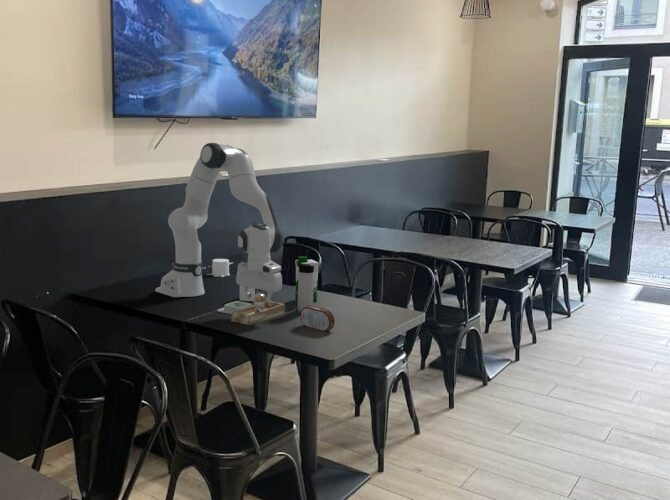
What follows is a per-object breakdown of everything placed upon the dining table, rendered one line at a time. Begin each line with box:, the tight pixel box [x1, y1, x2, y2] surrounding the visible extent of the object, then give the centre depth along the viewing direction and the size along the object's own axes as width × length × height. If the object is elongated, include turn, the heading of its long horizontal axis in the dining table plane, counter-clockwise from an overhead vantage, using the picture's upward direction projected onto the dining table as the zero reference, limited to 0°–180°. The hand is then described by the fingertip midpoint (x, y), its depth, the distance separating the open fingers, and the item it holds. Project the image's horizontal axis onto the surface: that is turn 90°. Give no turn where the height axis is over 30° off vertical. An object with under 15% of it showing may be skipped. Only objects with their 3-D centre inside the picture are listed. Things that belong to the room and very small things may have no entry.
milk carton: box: [294, 255, 320, 303], centre depth 298 cm, size 9×9×20 cm
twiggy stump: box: [206, 258, 233, 278], centre depth 346 cm, size 20×19×8 cm
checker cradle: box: [216, 300, 253, 315], centre depth 282 cm, size 12×12×3 cm
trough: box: [230, 301, 286, 326], centre depth 275 cm, size 9×23×4 cm, turn 149°
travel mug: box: [297, 264, 314, 313], centre depth 283 cm, size 6×7×20 cm
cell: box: [253, 292, 266, 314], centre depth 274 cm, size 4×4×8 cm
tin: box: [300, 304, 336, 332], centre depth 261 cm, size 15×3×8 cm, turn 51°
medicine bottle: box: [239, 285, 261, 303], centre depth 300 cm, size 7×7×12 cm
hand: (258, 299), depth 274 cm, fingers open, 8 cm apart
